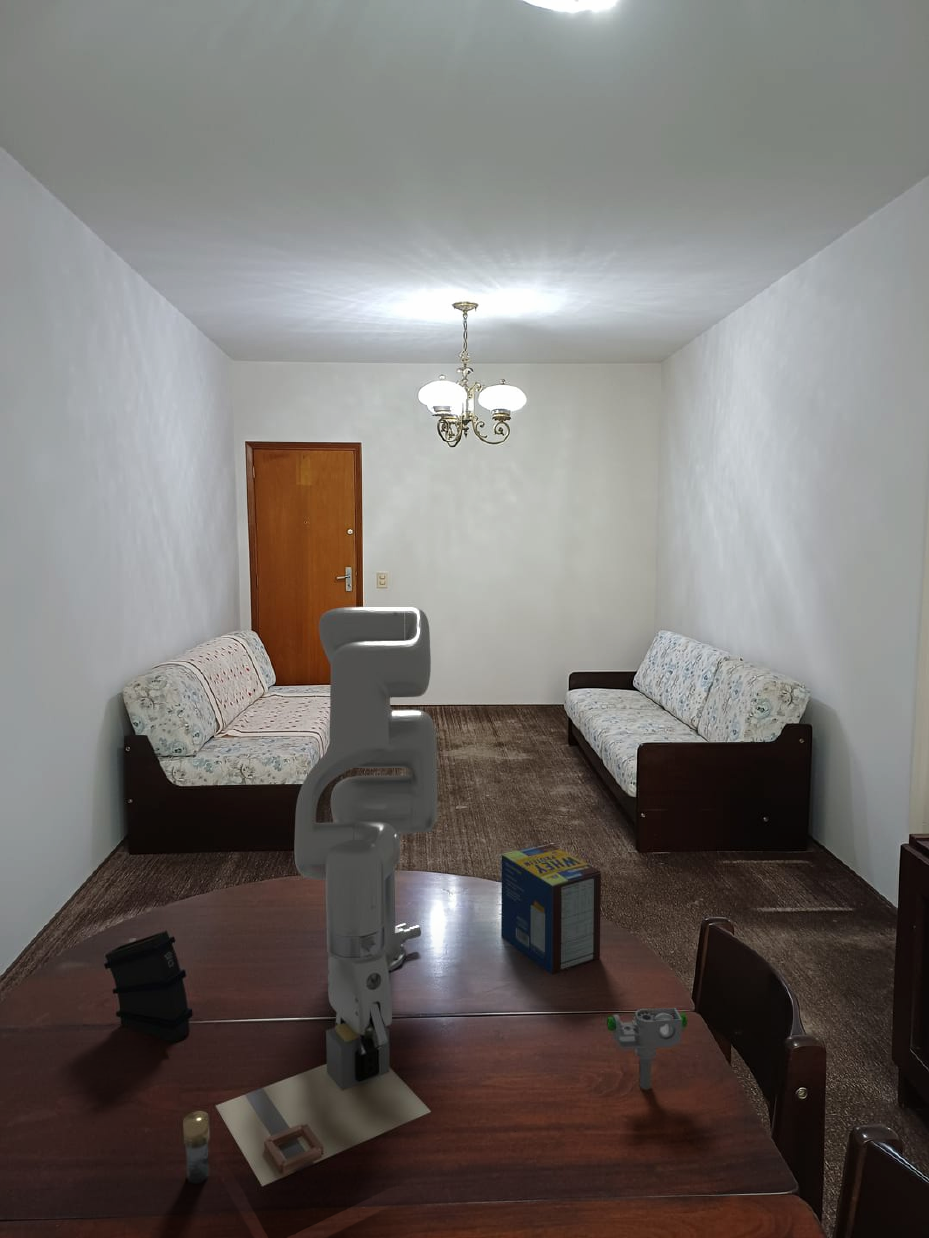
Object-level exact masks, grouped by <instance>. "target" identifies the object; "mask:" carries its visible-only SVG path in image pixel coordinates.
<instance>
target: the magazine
mask: <svg viewBox="0 0 929 1238" xmlns="http://www.w3.org/2000/svg"><path fill="white" fill-rule="evenodd" d="M175 942H176V939H175V936H170V935H169V933H168V930H164V931H161V932H158V933H155V934H153V935H149V936H147V937H143V938H140V939H138V940H134V941H132V942H128V943H125V944H122V945H119V946H118V947H116V948H114V949H113V950H110V951H109V952H107V953H105V954H104V957H105V958H106V962H105V963H104V964H103V967H104V969H105V970H108V969H109V970H110V972H111V975H112V977H113V980H114V981H113V982H114V984H115V988H114V989H112V994H114V995H115V994H116V995H117V997H118V1005H119V1010H117V1011H116V1012H115V1017H116V1018H120V1024H121V1026H123V1027H125V1028H129V1029H131V1030H135V1031H137V1032H141V1033H143V1034H146V1035H149V1036H153V1037H155V1038H159V1039H160V1040H164V1041H165V1042H166V1041H167V1042H170V1043H173V1044H177V1043H178V1042H179V1041H181V1040H182V1039H184V1038H185V1037H186V1036H187V1035H188V1034H190V1031H191V1030H190V1021H189V1019H190V1018H191V1017H193V1009H192V1008H189V1007H188V1000H187V992H186V987H185V983H184V978H186V977H187V974H186V970H185V969H181V968H180V964H179V960H178V956H177V953H176V951H175V948H174V945H173V944H174V943H175Z"/></svg>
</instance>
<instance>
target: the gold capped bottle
mask: <svg viewBox="0 0 929 1238" xmlns="http://www.w3.org/2000/svg"><path fill="white" fill-rule="evenodd" d="M182 1125H183V1127H182V1128H183V1143H184V1146H185V1151H186V1152H185V1155H186V1158H185V1159H186V1176H187V1177H186V1179H187V1181H188V1182H189V1183H191V1184H200V1183H202V1182H204V1181H206V1180H207V1179H208V1178H209V1175H210V1165H209V1164H210V1161H209V1159H210V1158H209V1141H210V1139H211V1137H210V1117H209V1113H207V1112H206V1111H203V1110H196V1111H192V1112H190V1113H188V1114H187V1115H185V1117H184V1118H183V1120H182Z"/></svg>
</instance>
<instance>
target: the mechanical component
mask: <svg viewBox="0 0 929 1238" xmlns="http://www.w3.org/2000/svg"><path fill="white" fill-rule="evenodd" d="M687 1024H688V1021H687V1016H686V1014H685V1013H679V1011H678V1010H677V1007H673V1008H669V1007H667V1008H648V1009H647V1008H642V1009H637V1010H636V1011H635V1013H634V1016H633V1019H632V1020H631V1021H628V1022H623V1021H622V1020H621V1018H620V1016H619V1014H613V1015H611V1017H607V1018H606V1026H607V1027H606V1028H607V1030H608V1032H610V1031H611V1033H612V1035H613V1038H614V1040H615V1042H616V1044H617V1046H618V1047H619V1049H621V1050H635V1054H636V1057H638V1058H639V1063H638V1064H639V1065H638V1069H639V1070H638V1083H639V1084H638V1085H639V1086H640V1088H641V1089H642V1090H645V1091H646V1090H648V1091H649V1090H650V1089H651V1087H652V1063H653V1062H652V1061H653V1059H654V1058H656V1056H657V1053H656V1049H658V1048H659V1049H660V1048H674V1047H676V1046H678V1045H679V1043H680V1042H681V1039H682V1032H683V1028H686V1027H687V1026H688V1025H687Z"/></svg>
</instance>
